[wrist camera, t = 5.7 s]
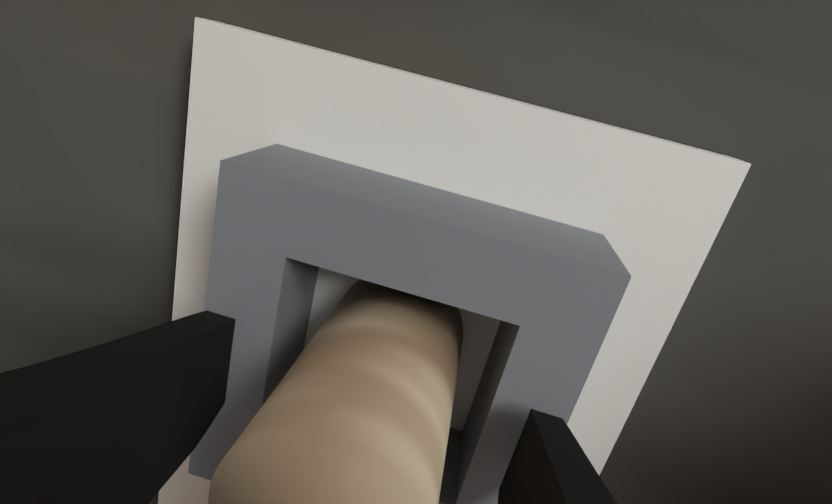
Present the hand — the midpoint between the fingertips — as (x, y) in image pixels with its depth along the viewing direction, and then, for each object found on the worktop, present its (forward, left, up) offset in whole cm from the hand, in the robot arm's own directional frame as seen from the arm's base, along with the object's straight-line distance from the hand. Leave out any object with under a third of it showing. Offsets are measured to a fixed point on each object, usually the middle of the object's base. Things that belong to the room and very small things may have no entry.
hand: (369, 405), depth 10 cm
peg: (0, 0, -3) cm, 3 cm away
